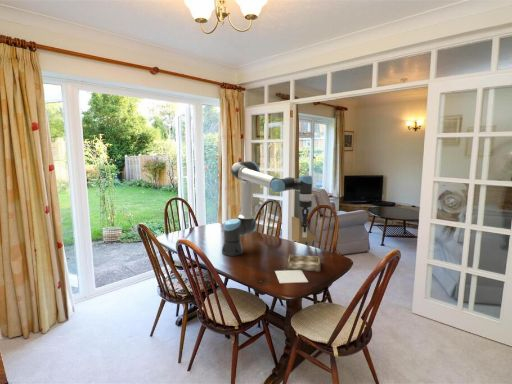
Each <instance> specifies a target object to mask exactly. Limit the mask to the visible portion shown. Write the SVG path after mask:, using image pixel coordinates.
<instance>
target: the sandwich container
mask: <svg viewBox="0 0 512 384" xmlns="http://www.w3.org/2000/svg"><path fill="white" fill-rule="evenodd" d="M302 226H303V220H301V219H300V218H298V217H296V216H291V240H292V241H293V242H296V243H298V244H301V243H308V242H314V241H318V240H320V239H319V238H318V237H317V236H316V235H315V234H314V233H313V231H311V230H310V229H309V228H308V227H307V237H302V228H303V227H302Z"/></svg>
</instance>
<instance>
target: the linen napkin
mask: <svg viewBox="0 0 512 384" xmlns="http://www.w3.org/2000/svg"><path fill="white" fill-rule="evenodd" d="M274 272H275V275H276V277H277V281H278V282H279V284H297V283H298V284H301V283H309V280H308V279H307V277H306V276H305V274H304V272H303V270H293V269H287V270H274Z"/></svg>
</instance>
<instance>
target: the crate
mask: <svg viewBox="0 0 512 384" xmlns="http://www.w3.org/2000/svg"><path fill="white" fill-rule="evenodd" d="M320 257H321V256H320V255H317V256H315V255H301V254H299V255H298V254H291V253H289V254H288V259H287V264H286V265H287V270H301V271H305V272H306V271H309V272H321V258H320Z"/></svg>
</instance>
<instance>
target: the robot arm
mask: <svg viewBox="0 0 512 384" xmlns="http://www.w3.org/2000/svg"><path fill="white" fill-rule="evenodd" d="M230 173H231V175H232V177H234V178H235V179H237V180H239V181H240V182H241V186H240V187H241V190H240V211H239V212H240V213H239V215H238V217H237V218H230V219H227V220H225V222H224V224H223V238H224V239H223V240H224V241H223V245H222V248H221V253H222V254H223V255H224V256H229V257H236V256H240V255H243V253H244V249H243V246H242V245H243V244H242V242H241V237H242V236H247V235H250V234H251V233H254V232H255V230H256V229H257V220H256V219H255V216H254V215H253V201H254V200H253V199H254V184H256V185H259V186H262V187H266V188H268V189H271V190H272V192H274V193H281V192H286V191H292V190H293V191H299V196H298V198H299V201H298V203H299V204H298V206H299V207H301V209H302V210H301V214H302V215H301V217H302V223H303V226H302V227H303V228H302V237H307V228H308V222H309V219H308V217H309V211H310V210H309V209H308V208H312V206H313V205H312V198H313V197H314V195H313V194H312V193H313V176H312V175H309V174H305V175H304V174H303V175H300V176H299V177H288V176H287V177H284V178H280V177H276V176H272V175H270V174H266V173H263V172H261V171H260V166H259V165H258V164H257V163H256V162H255V161H250V160H249V161H237V162H235V163H234V164H232V166H231V169H230Z"/></svg>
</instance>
